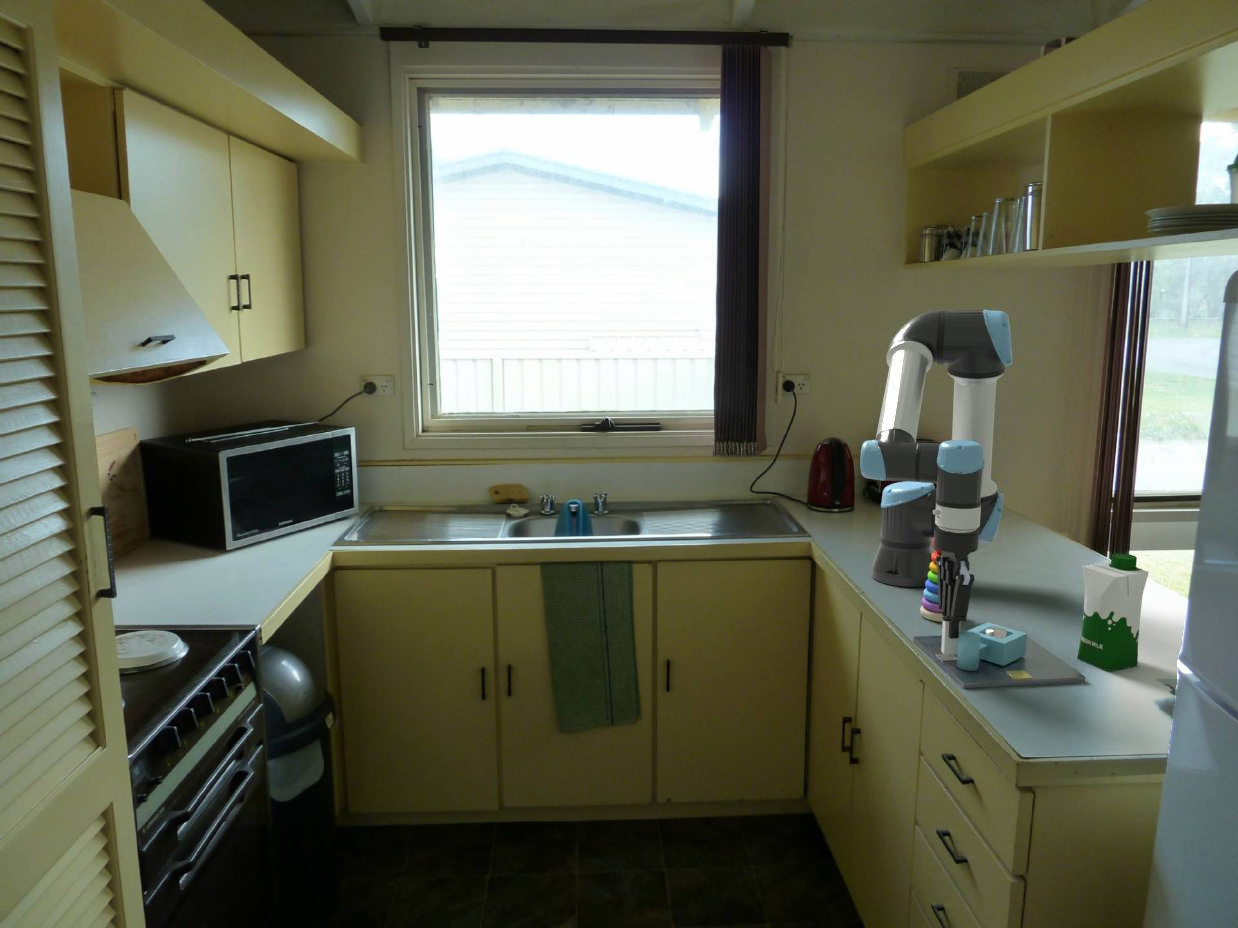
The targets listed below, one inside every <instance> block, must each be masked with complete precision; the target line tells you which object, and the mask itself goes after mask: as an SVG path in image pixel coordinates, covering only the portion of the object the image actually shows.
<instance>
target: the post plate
mask: <svg viewBox="0 0 1238 928" xmlns="http://www.w3.org/2000/svg"><path fill="white" fill-rule="evenodd" d="M1006 633H1007V631H1006V630H1005V629H1003V628H1000V627H987V628H986V630H985V635H989V636H992V637H996V638H999V639H1002V638H1005V637H1006ZM912 637H913V638H912V641H913V643H914V644H915V645H916V646H917V647H919V649H921V650H922V652H924V653H925V654H926V655H927V656H928V657H930V659H932V661H934V663H936V664H937V666H939V667H940V668H941V669H942V670H943V671H944V672H945V673H946V674H947V675H949V676H950V677H951V678H952V679H953V680H954V681H955V682H956V683H957V684H958V685H959V686H960V687H961V688H962V689H973V688H974V689H975V688H976V689H979V688H980V689H981V688H995V687H996V688H997V687H998V688H1000V687H1017V686H1019V687H1020V686H1034V685H1035V686H1036V685H1037V686H1039V685H1040V686H1041V685H1057V684H1058V685H1060V684H1076V683H1086V676H1085V675H1083V674H1082V673H1080V672H1079V671H1078V670H1076V669H1075V668H1073V667H1072V666H1071V665H1070V664H1068V663H1066V662H1065V661H1063V660H1062V659H1061V658H1059V657H1058V656H1056V655H1055V654H1054V653H1052V652H1050V651H1049V650H1048V649H1046V648H1045V647H1044V646H1042V645H1040V644H1039V643H1037V642H1036V641H1034V639H1032V638H1031V637H1029V636H1028V635H1027V641H1026V655H1025V656H1023V657H1021V658H1018V659H1016V660H1014V661H1012V662H1010V663H1008V664H1006V665H1004V666H1002V665H999V664H996V663H993V662H990V661H986V660H983V659H980V660H979V667H978V669H977V670H974V671H968V670H963V669H960V668H959V667H958V666H957V657H958V654H943V653H942V652H941V645H942V634H941V635H921V636H912Z"/></svg>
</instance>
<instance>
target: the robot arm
mask: <svg viewBox="0 0 1238 928" xmlns="http://www.w3.org/2000/svg"><path fill="white" fill-rule="evenodd" d="M1009 318H1010V317H1009V315H1008V313H1007V312H1005V311H1002V310H989V309H967V310H966V309H965V310H964V309H963V310H962V309H961V310H958V309H957V310H938V309H937V310H930V311H926V312H922V313H921V314H919V315H917V316H915V317H913V318H911V319H910V320H909V321H908V322H906V323H905V324H904V325H902V326H901V327H900V328H899V330H897V332H896V333H895V335H894V336H893V337H892V339H891V340H890V342H889V346H888V348H887V352H886V357H885V358H886V364H887V366H888V374H887V377H886V384H885V389H884V393H883V394H884V395H883V398H882V405H881V409H880V415H879V420H878V426H877V431H876V435H875V439H872V440H870V439H869V440H865V441H863V443H862V445H861V449H860V459H859V461H860V462H859V463H860V465H859V466H860V474H861V476H863V477H864V478H866V479H871V480H875V481H876V480H877V481H884V482H885V481H893V482H895V483H891V484H889V485H887V486H885V487H884V488H883V490H882V496H881V503H880V508H881V511H880V512H881V514H880V516H881V517H880V518H881V519H880V537H879V538H880V539H879V540H880V541H879V547H878V549H877V551H876V555H875V557H874V560H873V563H872V566H871V577H872V578H873V579H874V580H875V581H877V582H880V583H882V584H885V585H889V586H890V585H891V586H894V587H895V586H896V587H907V588H911V587H912V588H915V587H916V588H917V587H920V588H921V587H926V586H925V583H926V581H927V580H928V573H929V571H931V570H930V567H929V566H930V563H931V562H933V561H932V559H931V555H932V554H933V552H932V539H933V538H934V547H935V548H936V549H938V550H940V551H942V556H936V563H937V572H938V604H939V605H938V607H939V609H940V610H942V616H944V617H943V622H942V629H941V630H942V631H941V635H942V645H941V652H942V653H943V654H958V639H959V633H960V632H961V623H962V622H967V621H966V620H967V617H968V611H969V610H968V609H969V604H970V598H971V597H970V596H971V592H972V587H973V584H974V581H975V574H970V573H969V570H970V567H971V566H970V565H971V564H970V562H969V555H970V554H971V553H974V552H975V553H976V551H977V550H978V549H979V543H990V542H993V541H994V539H996V537H997V535H998V534H997V533H998V530H999V527H1000V521H1001V516H1002V511H1003V507H1004V506H1003V505H1004V499H1005V498H1004V497H1005V496H1004V494H1003V493H1001V492H1000V491H998V485H997V484H996V482H995V481H993V480H992V463H993V444H994V428H995V427H994V426H995V413H996V411H995V410H996V394H997V393H996V392H997V381H998V379H1000V378H1001V377H1003V375H1004V374H1005V369H1006V367H1008V366H1011V365H1013V351H1012V350H1013V349H1012V345H1013V344H1012V334H1011V332H1012V331H1011V323H1010V319H1009ZM933 365H945V366H947V369H946V370H947V371H946V372H947V374H948V375H949V376H950V378H952V379H953V381H954V383H953V384H954V385H953V404H952V405H953V407H952V408H953V409H952V429H951V430H952V434H951V440H946V441H942V442H941V443H934V442H933V443H932V442H931V443H930V442H917V436H918V429H919V424H920V423H919V422H920V417H921V409H922V403H923V395H924V389H925V384H926V383H925V381H926V378H927V377H926V375H927V373H928V372H929V370H931V368H932V366H933ZM934 484H936V487H935V485H934ZM934 547H933V548H934Z"/></svg>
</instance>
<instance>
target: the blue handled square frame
mask: <svg viewBox="0 0 1238 928" xmlns="http://www.w3.org/2000/svg"><path fill="white" fill-rule="evenodd" d="M987 627H1000V628H1003V629H1005V630H1006V631H1007V633H1006V637H1005V638H1002V639H999V638H996V637H992V636H989V635H985V630H986V628H987ZM1027 636H1028V633H1026V632H1023V631H1020V630H1015V629H1013V628H1011V627H1010V628H1009V627H1005V626H1002V625H999V624H997V623H995V624H994V623H992V622H989V621H987V622H984V623H982V624H980V625H978V626H976V627H973V628H971V629H968V630H964V631H960V633H959V639H958V657H957V666H958V667H959V668H960V669H963V670H968V671H974V670H977V669H978V667H979V660H980V659H983V660H986V661H990V662H993V663H996V664H999V665H1002V666H1004V665H1006V664H1008V663H1010V662H1012V661H1014V660H1016V659H1018V658H1021V657H1023V656H1025V655H1026V641H1027Z"/></svg>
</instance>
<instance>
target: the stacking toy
mask: <svg viewBox="0 0 1238 928" xmlns="http://www.w3.org/2000/svg"><path fill="white" fill-rule="evenodd" d="M931 545H932V547H933V550H934V551H935V552H932V555H931V559H932V561H933V562H931V563H930V566H929V567H930V570H931V571H929V573H928V580H927V581H926V583H925V586H924V587H925V588H924V590H923V593H922V594H923V597H922V599H921V606H920V608H919V613H920V615H921V616H922V617H923V618H925V619H927V620H929V621H933V622H939V623H943V617H944V616H942V610H940V609H939V607H938V605H939V604H938V572H937V563H936V556H942V551H940V550H938V549H936V548H935V547H934V538H932V540H931Z"/></svg>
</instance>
